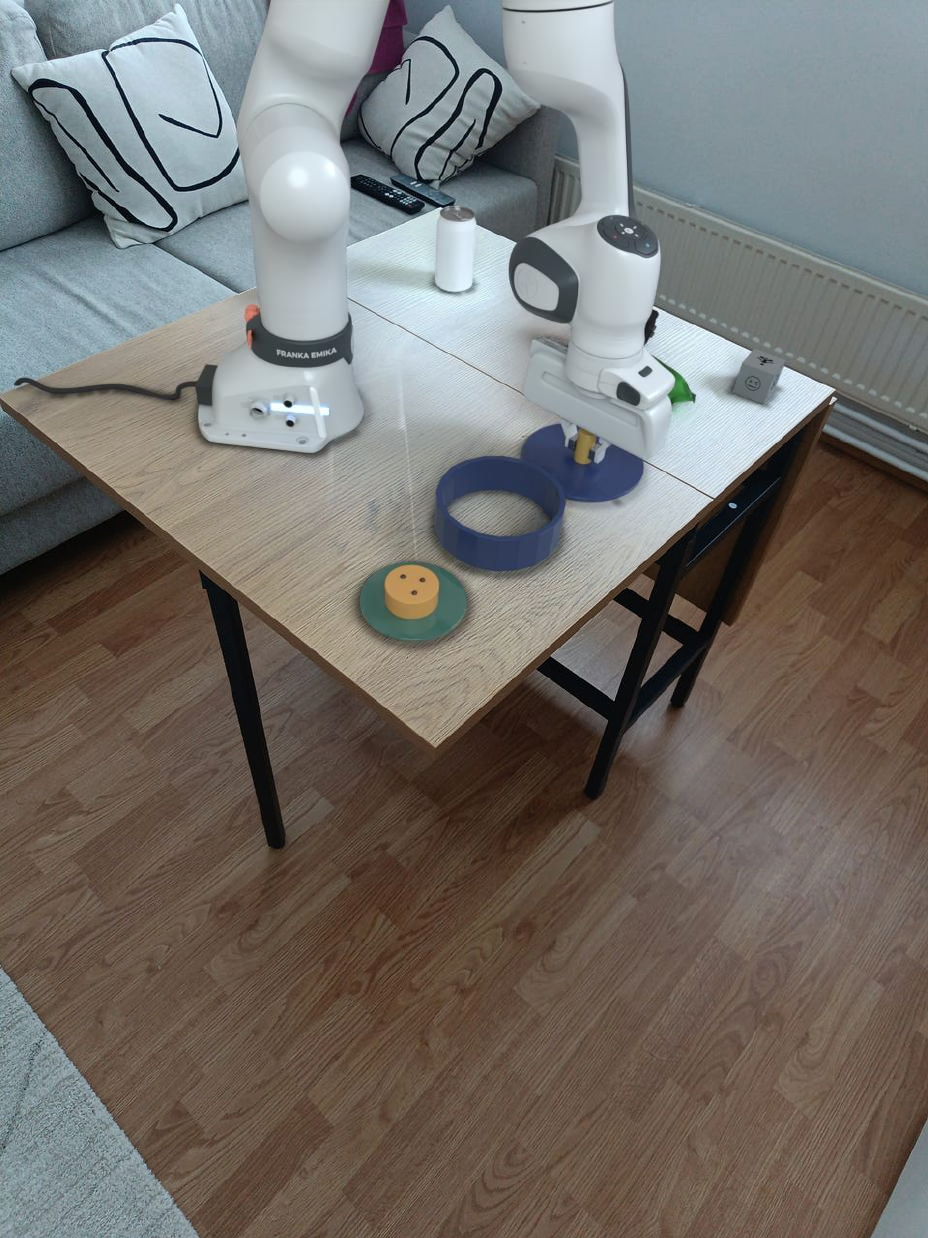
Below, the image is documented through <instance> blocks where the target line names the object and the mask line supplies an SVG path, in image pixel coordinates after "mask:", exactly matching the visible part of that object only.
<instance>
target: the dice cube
mask: <svg viewBox="0 0 928 1238" xmlns="http://www.w3.org/2000/svg"><path fill="white" fill-rule="evenodd" d="M786 361H787V360H786V359H785V358H780V357H778V356H776V355H772V354H770V353H767V352H765V351H762V350H759V349H756V348H753V349H752V351H751V352H750V353H748V355H747V357H745V358H744V360H742V362H741V365H740V368H739V371H738V374H737V376H736V380H735V383H734V386H733V388H732V391H731V393H732V394H736V395H738V396H741V397H743V398H746V399H748V400H751V401H753V402H757V403H759V404H761V405H765V404H766V402H767V401H768V400H769V398H770V397H771V395H772V394H773V393H774V392H775V390H776V388H777V386H778V383H779V380H780V377H781V375H782V372H783V369H784V367H785V364H786Z"/></svg>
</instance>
